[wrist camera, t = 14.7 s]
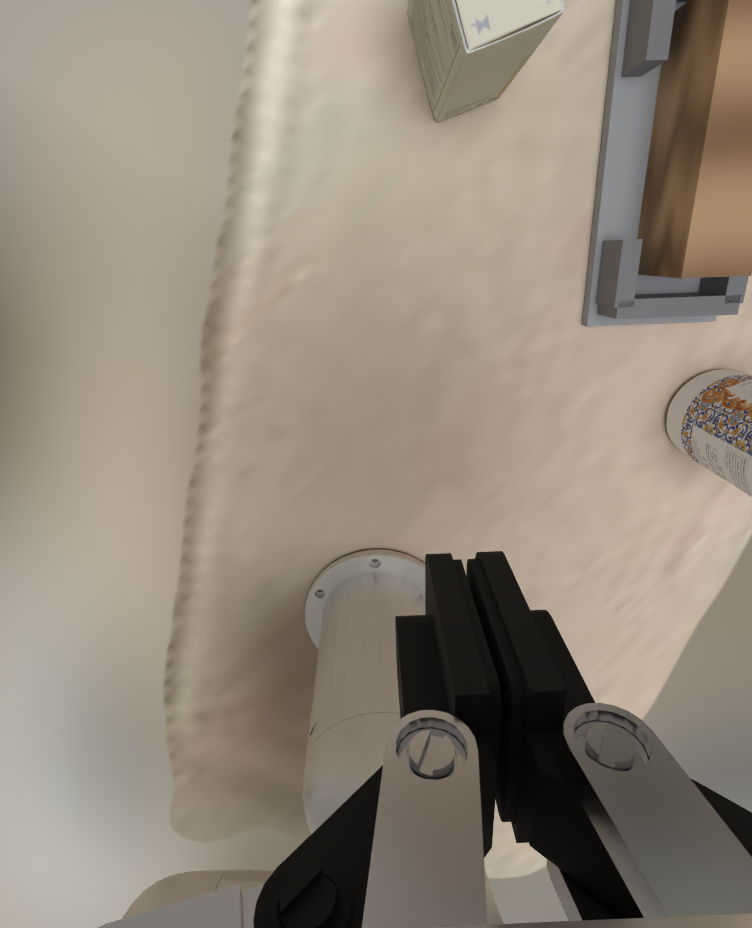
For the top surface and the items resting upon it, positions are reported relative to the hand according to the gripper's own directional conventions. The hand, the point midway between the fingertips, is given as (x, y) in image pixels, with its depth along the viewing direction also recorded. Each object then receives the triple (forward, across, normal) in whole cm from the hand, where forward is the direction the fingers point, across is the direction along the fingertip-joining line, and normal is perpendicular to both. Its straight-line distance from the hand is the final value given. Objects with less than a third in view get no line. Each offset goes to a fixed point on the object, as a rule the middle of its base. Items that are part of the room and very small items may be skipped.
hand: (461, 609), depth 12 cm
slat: (+28, -18, -12) cm, 36 cm away
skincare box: (+29, -4, -18) cm, 35 cm away
